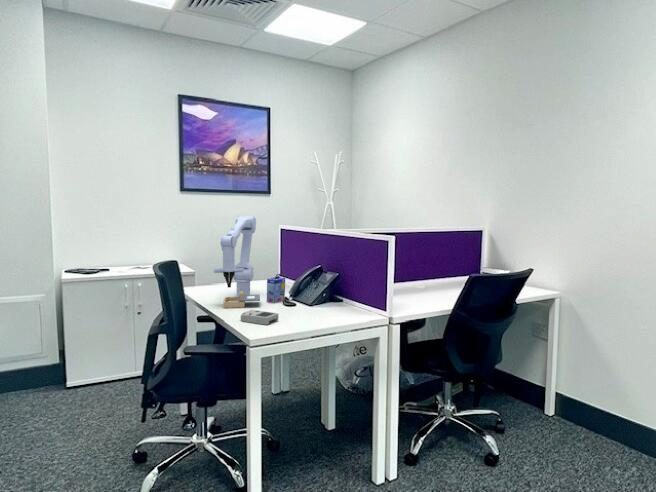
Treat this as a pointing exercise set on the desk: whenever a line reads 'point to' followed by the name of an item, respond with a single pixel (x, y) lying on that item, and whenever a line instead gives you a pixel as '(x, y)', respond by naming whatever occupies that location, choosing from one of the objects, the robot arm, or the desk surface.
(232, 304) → the kraft box
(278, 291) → the ink cartridge box
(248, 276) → the robot arm
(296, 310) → the desk surface
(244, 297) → the lid
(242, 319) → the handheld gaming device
